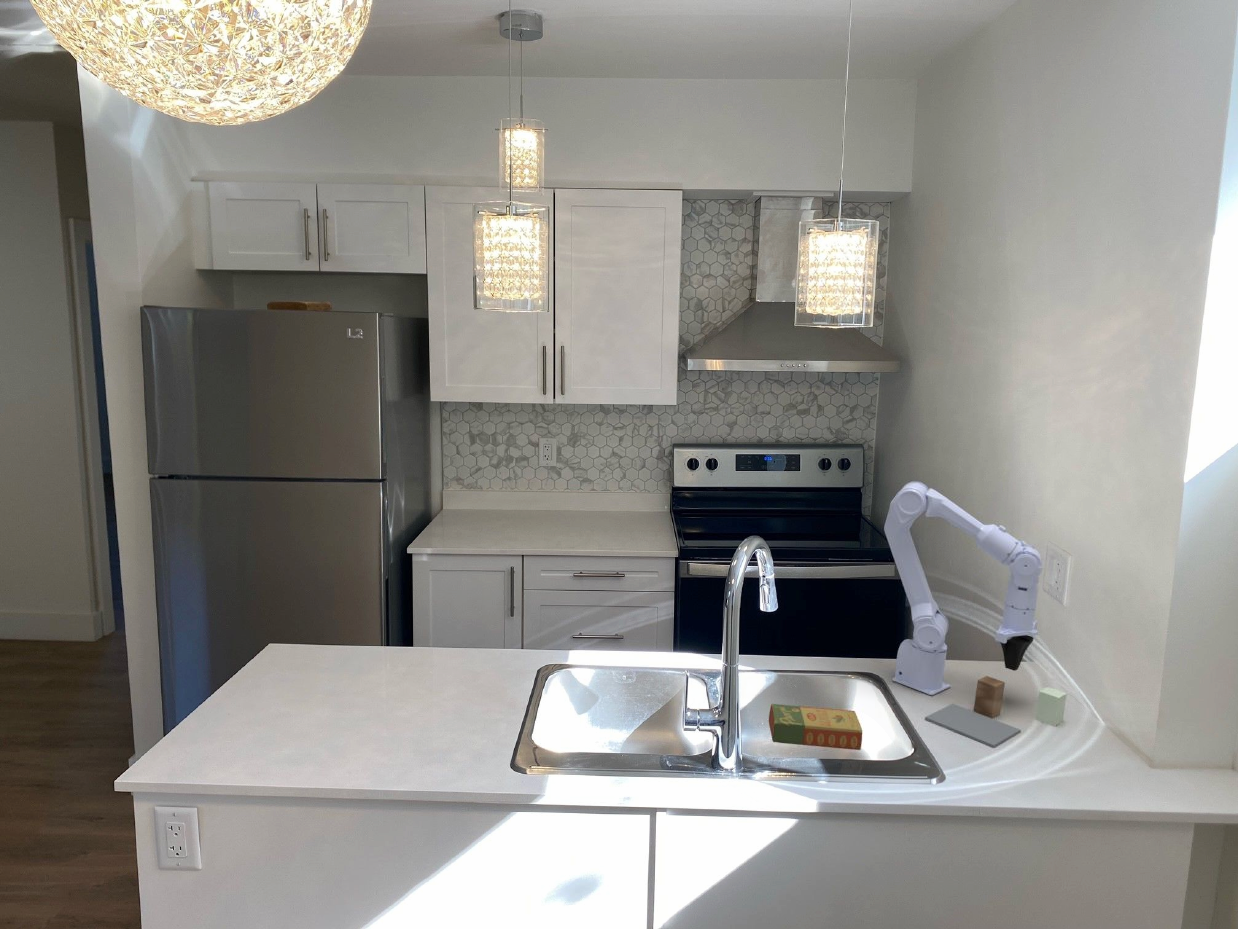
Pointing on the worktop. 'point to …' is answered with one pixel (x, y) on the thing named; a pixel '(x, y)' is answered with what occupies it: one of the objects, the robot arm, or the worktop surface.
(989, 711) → the walnut block
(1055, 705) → the sage block
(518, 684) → the worktop surface
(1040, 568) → the robot arm
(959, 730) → the mat
